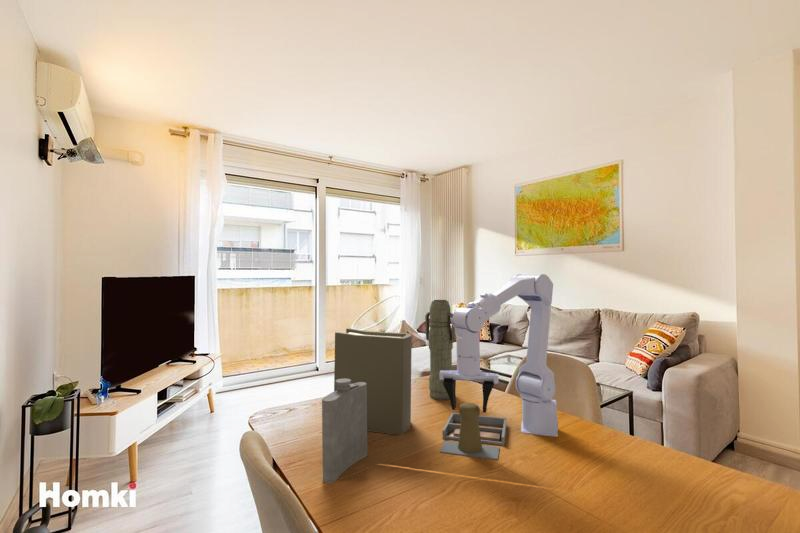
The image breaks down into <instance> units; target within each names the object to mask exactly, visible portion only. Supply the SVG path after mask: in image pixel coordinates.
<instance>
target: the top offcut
mask: <svg viewBox="0 0 800 533" xmlns="http://www.w3.org/2000/svg"><path fill="white" fill-rule="evenodd" d="M459 433H460V429H458V428H456V429H455V431H454V433H453V436H455V437H459ZM480 437H481V440H489V441H498V442H501V437H500V433H491V432H483V431H480Z"/></svg>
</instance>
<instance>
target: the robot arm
mask: <svg viewBox="0 0 800 533" xmlns="http://www.w3.org/2000/svg"><path fill="white" fill-rule="evenodd" d="M553 290H554V283H553V281H552V280H551V278H550V277H549V276H548V275H547V274H544V273H542V274H541V273H540V274H522V273H521V274H520V273H519V274H516V275H515V276H513V277H510V279H509V281H508V282H507V283H506V284H504V285H503V286H502V287H500V288H499V289H498V290H497V291H495V292H494V293H490V292H484V293H483V292H482V293H480V295H479V296H480V297H478V298H477V299H475V300H474V301H470V302H468V303H467V305H466V307H463V306H461V307H458V308H457V309H456V310H454V312H453V313H452V314H453V317H452V318H451V321H450V324H451V326H452V325H453V327H454V329H455V334H456V340H455V342H456V370H455V369H454V370H453V369H452V370H449V371H445V370H441V371H440V372H439V376H440V380H444V382H443V385H444V387H445V389H446V391H447V393H448V396H449V399H448V400H449V403H450V406H451V410H454V411H455V410H456V409H457V397H456V396H457V395H456V389H457V388H456V385H457V384H456V382H457V381H465V382H477V383H479V382H481V383H483V384H482V399H483V400H482V413H484V414H486V413H487V408H488V407H487V406H488V402H489V398H490V395H491V392H492V391H493V389H494V385H498V384H499V383H500V382H499V378H500V377H499V373H492V372H487V371H486V372H485V371H481V355H480V354H481V353H480V352H481V350H480V349H481V348H480V331H481V330H482V329H483V328H484V325H485V323H486V322H487V321H488V320H489V319H490V318H492V317H494V316H495V315H496V314H498V313H499V312H500V311H501V309H502V308H501V305H503V304H505V303H507V302H509V301H510V300H512V299H513V298H515V297H518V298H519V299H520V300H522V301H524V302H525V303H526V304H527V305H528V306H529V307H530V315H529V316H530V317H529V325H528V326H529V327H528V338H527V341H528V342H527V350H526V361H525V363H523V364H522V365H521V366H519V368H518V374H517V376H516V378H515V388H516V391H517V392H518V393H519V397H521V408H522V409H521V411H522V414H521V416H522V418H521V419H522V421H521V423H520V424H521V425H520V433H522V434H528V435H537V436H548V437H558V436H559V435H558V428H559V421H558V404H557V400H556V399H553V397H554V396H555V393H556V384H555V372H553V371H552V370H551V369H550V368H549V367H548V365H547V358H548V348H549V346H548V345H549V335H550V325H551V324H550V322H551V310H552V304H553V302H552V301H553V293H554V292H553Z"/></svg>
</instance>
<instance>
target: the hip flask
mask: <svg viewBox="0 0 800 533" xmlns="http://www.w3.org/2000/svg"><path fill="white" fill-rule="evenodd" d="M336 385H337V388H336V389H337V390H336V391H334V390H333V392H331V393H329V394H327V395H326V396H324V397H323V398H321V417H322V418H321V422H322V423H321V431H322V433H321V436H322V437H321V438H322V441H321V442H322V450H321V451H322V481H323V482H324V483H327V484H330V483H334V482H336V481H337V480H338V479H339V478H340V476H342V474H343V473H345V472H346V471H347V470H348V469H349V468H350V467H351V466H353V465H354V464H355V463H358V461H360V460H362V459H363V458H365V457H366V456H368V431H367V384H366V383H365V382H357V383H354V384H351V380H350V379H346V378H344V379H337V380H336Z"/></svg>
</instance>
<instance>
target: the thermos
mask: <svg viewBox="0 0 800 533" xmlns="http://www.w3.org/2000/svg"><path fill="white" fill-rule="evenodd" d="M453 314H454V313H452V312H451V306H450V302H449V301H448V300H447V299H434V300H431V303H430V306H429V312H426V314H425V319H424V320H425V321H424V322H425V338H426V341H428V349H429V362H430V363H429V367H430V368H429V369H430V374H429V378H428V387H429V388H428V389H429V398H430V399H433V400H439V401H445V400H450V399H449V396H448V393H447V391H446V389H445V387H444V385H443V382H444V380H440V376H439V372H440V371H441V370H445V371H449V370H453V360H452V359H453V358H452V354H453V352H452V351H453V349H454V342H456V334H455V329H454V327H453V325H452V324H451V318H452V317H453Z"/></svg>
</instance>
